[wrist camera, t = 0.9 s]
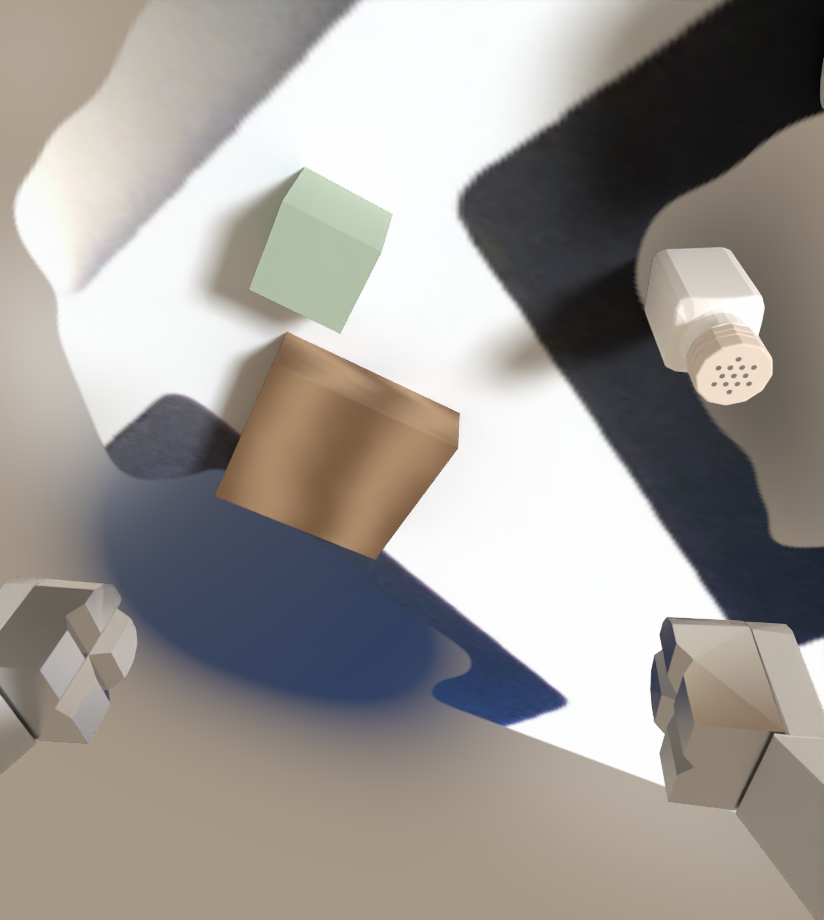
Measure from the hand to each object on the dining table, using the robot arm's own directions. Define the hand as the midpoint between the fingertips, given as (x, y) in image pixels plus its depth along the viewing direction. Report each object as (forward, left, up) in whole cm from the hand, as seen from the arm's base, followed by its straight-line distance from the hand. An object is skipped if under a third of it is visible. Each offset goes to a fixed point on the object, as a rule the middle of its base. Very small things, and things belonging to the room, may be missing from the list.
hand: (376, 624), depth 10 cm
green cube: (-3, -8, -29) cm, 30 cm away
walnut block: (+3, -21, -30) cm, 36 cm away
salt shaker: (+15, -1, -29) cm, 33 cm away
